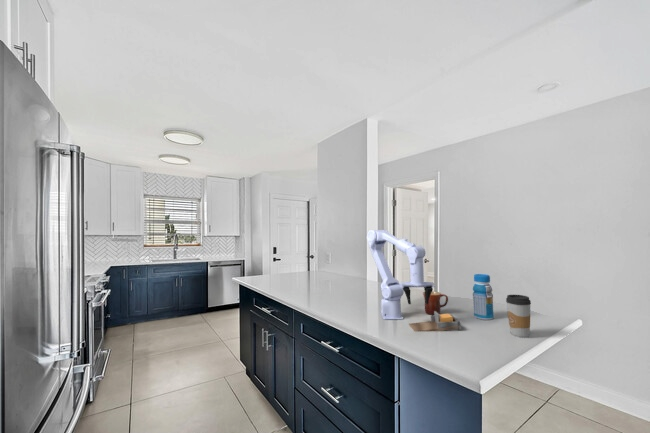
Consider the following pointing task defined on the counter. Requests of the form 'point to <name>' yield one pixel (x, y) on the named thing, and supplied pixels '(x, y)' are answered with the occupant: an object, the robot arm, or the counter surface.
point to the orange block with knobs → (443, 317)
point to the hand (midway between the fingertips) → (417, 303)
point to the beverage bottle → (483, 297)
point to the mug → (434, 303)
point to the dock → (436, 325)
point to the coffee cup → (519, 315)
